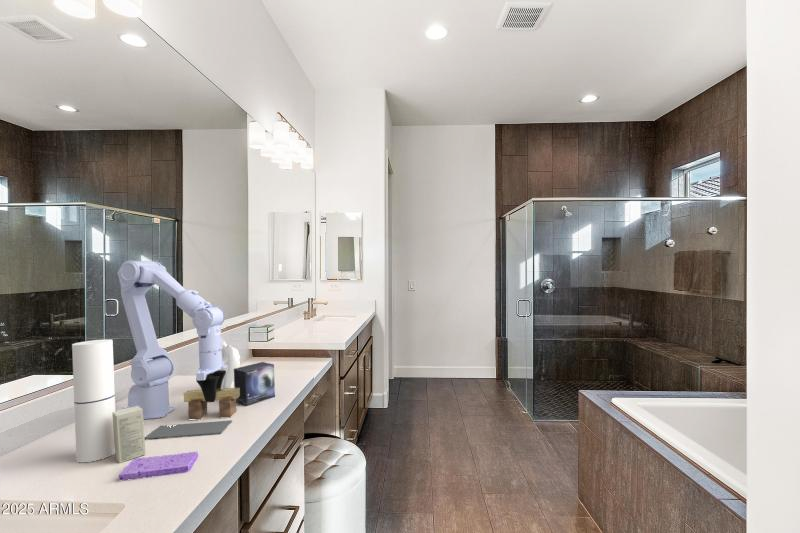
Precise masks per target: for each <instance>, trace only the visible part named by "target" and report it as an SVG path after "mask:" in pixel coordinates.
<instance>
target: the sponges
mask: <svg viewBox="0 0 800 533" xmlns="http://www.w3.org/2000/svg"><path fill="white" fill-rule="evenodd" d="M198 452H199V451H191V452H182V453H175V454H166V455H165V454H164V455H161V456H159V455H156V456H154V455H153V456H148V457H136V458H133V459H131V461H130V462H129V463H128V465H126V466H125V467H124V468H123V470H121V471H120V473H119V474H118V481H119V480H124V481H129V480H128V479H132V480H137V479H136V478H139V479H144V478H143V477H146V478H152V476H155V477H160V476H168V475H175V474H176V475H177V474H185V473H188V472H190V471H191V470H192V468H193V466H194V465H195V462H196V461H197V460H198V458H199V453H198Z"/></svg>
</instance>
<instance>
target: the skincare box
mask: <svg viewBox="0 0 800 533" xmlns="http://www.w3.org/2000/svg"><path fill="white" fill-rule="evenodd" d="M112 416H113V430H114V444H115V454H114V457H115V460H116V459H117V460H116V462H117V463H118V462H119V463H118V464H121V463H124V462H126V461H127V462H128V461H130V460H133V459H135V458H140V457H142V456H144V455H145V456H146V452H147V451H146V442H145V441H146V440H145V438H144V437H145V426H144V424H145V423H144V419H143V410H142V408H141V407H139V406H134V407H130V408H128V407H127V408H123V409H118V410H115V412H112Z"/></svg>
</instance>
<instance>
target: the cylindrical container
mask: <svg viewBox="0 0 800 533" xmlns="http://www.w3.org/2000/svg"><path fill="white" fill-rule="evenodd" d="M113 341H114V340H113V339H109V338H108V339H105V338H103V339H93V340H86V341H80V342H75V343H72V344H71V350H72V376H73V379H72V380H73V382H72V383H73V401H74V402H73V405H74V427H75V429H74V430H75V453H76V454H75V455H76V462H77V463H79V462H90V461H95V462H97V461H96V460H99V461H101V460H100V459H102V460H105V459H107V458H106V457H108V458H110V457H111V455H112V456H113V455H115V444H114V430H113V416H112V412H115V411H116V395H115V393H116V390H115V388H116V387H115V369H114V366H115V364H114V345H113V344H114V343H113ZM109 456H110V457H109ZM104 458H105V459H104ZM90 463H91V462H90Z"/></svg>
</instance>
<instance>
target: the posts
mask: <svg viewBox="0 0 800 533" xmlns="http://www.w3.org/2000/svg"><path fill="white" fill-rule="evenodd" d="M187 405H188V406H187V407H188V408H187V409H188V420H189V419H200V420H202V419H201V418H202V417H203V416H204V415H205V416H207V414H208V402H206V401H201V400H196V401H189V402H187ZM237 410H238V409H237V403H236V399H231V398H224V399H219V400H218V415H219V416H218V418H219V419H222V418H221V417H229V418H232V417H233V416H234V415H235V414H236V413H237ZM234 413H235V414H234ZM233 414H234V415H233ZM232 415H233V416H232ZM205 416H204V417H205ZM231 416H232V417H231ZM204 417H203V418H204Z"/></svg>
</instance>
